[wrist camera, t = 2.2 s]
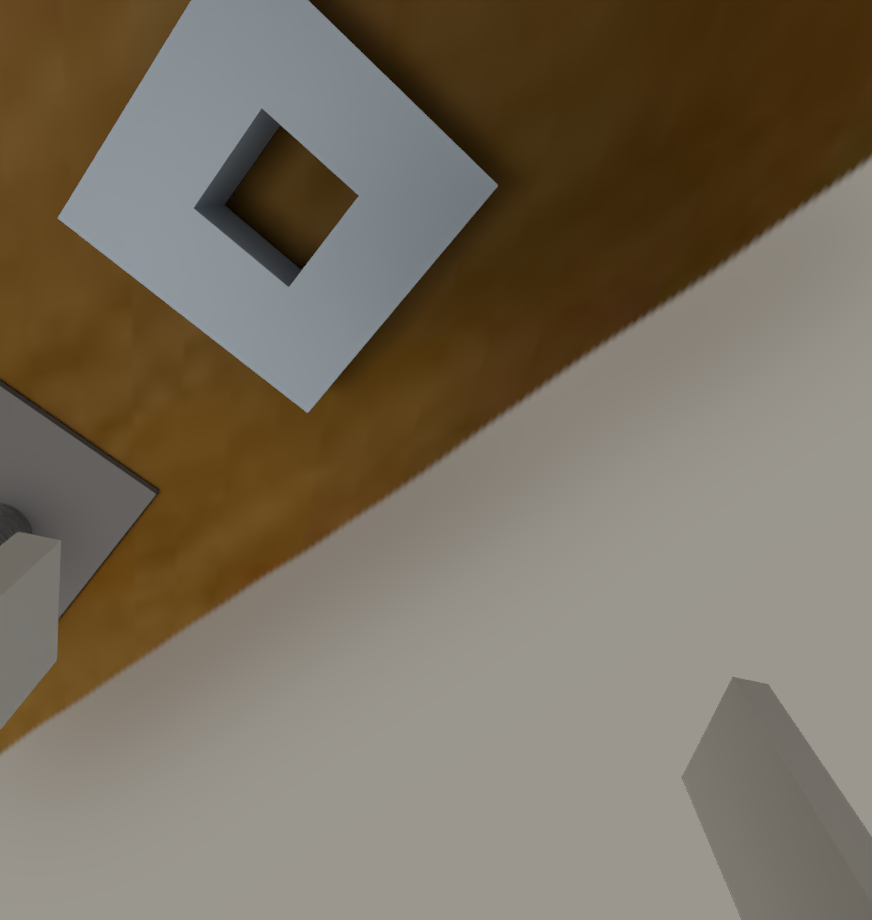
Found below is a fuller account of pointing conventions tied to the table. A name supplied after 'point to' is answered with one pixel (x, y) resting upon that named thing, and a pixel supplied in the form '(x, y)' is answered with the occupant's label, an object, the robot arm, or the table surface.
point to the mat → (66, 489)
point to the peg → (12, 522)
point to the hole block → (230, 158)
